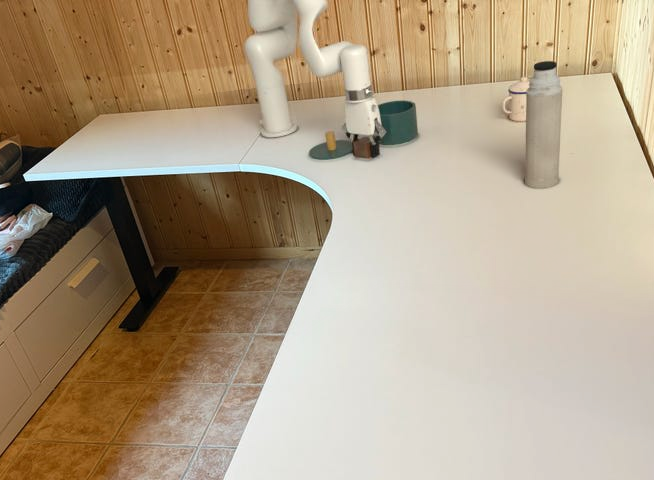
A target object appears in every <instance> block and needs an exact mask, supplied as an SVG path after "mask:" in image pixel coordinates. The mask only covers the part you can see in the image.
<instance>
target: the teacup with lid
mask: <svg viewBox="0 0 654 480" xmlns="http://www.w3.org/2000/svg"><path fill="white" fill-rule="evenodd" d="M529 84H530V79H529V78H528V77H527V76H522V77H520V80H518V81H517V82H515V83H512V84H511V85H510V86H509V87H508V90H507V91H508V96H506V97H505V98H503V100H502V101H501V108H502V112H504V113H505V114H508V118H509V120H511V121H514V122H526V91H527V89H528V88H530V87H529ZM507 101H508V110H507V108H506V103H507Z"/></svg>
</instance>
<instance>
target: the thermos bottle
mask: <svg viewBox="0 0 654 480" xmlns="http://www.w3.org/2000/svg"><path fill="white" fill-rule="evenodd" d="M556 67H557V62H556V61H554V60H553V61H552V60H544V61H539V62H536V63H535V64H533V77H531V78H530V79H529V80H530V84H529V87H530V88H528V89H527V91H526V121H525V148H524V149H525V155H524V156H525V157H524V159H525V161H524V162H525V163H524V183H525V185H526V186H528V187H531V188H535V189H537V188H538V189H541V188H544V189H545V188H549V187H553V186H555V185H556V184H557V183H558V182H559V174H560V154H561V153H560V151H561V129H562V109H563V107H562V106H563V86H561V85H560V84H561V78H560V76H558V75H557V69H556Z"/></svg>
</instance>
